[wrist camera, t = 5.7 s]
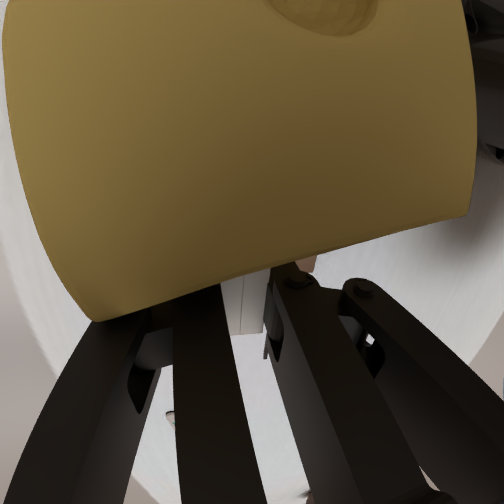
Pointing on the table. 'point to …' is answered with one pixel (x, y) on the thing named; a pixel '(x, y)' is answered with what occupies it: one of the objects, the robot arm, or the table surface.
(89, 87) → the cheese
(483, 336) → the table surface
